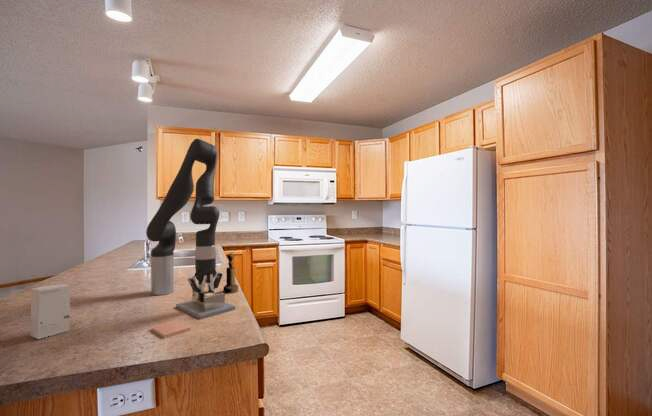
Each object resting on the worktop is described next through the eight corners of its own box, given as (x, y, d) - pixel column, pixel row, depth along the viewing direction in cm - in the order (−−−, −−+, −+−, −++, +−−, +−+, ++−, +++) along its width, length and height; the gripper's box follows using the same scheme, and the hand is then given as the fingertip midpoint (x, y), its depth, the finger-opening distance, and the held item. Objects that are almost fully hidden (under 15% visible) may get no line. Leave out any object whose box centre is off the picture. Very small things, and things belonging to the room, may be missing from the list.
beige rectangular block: (186, 302, 125) (186, 289, 125) (205, 297, 131) (205, 285, 131) (205, 311, 115) (205, 298, 115) (224, 306, 121) (224, 293, 121)
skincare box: (37, 340, 93) (37, 290, 93) (29, 336, 96) (29, 288, 96) (71, 330, 100) (71, 284, 100) (62, 327, 103) (62, 282, 103)
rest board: (176, 307, 123) (176, 304, 123) (209, 299, 134) (209, 296, 134) (200, 319, 110) (200, 315, 110) (235, 309, 121) (235, 306, 121)
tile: (151, 326, 101) (164, 335, 94) (176, 320, 107) (190, 327, 100) (151, 331, 101) (164, 339, 94) (176, 324, 107) (190, 331, 100)
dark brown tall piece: (232, 288, 151) (232, 251, 151) (240, 291, 147) (240, 252, 147) (220, 291, 146) (220, 253, 146) (228, 294, 142) (228, 254, 142)
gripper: (216, 253, 130) (217, 295, 130) (183, 258, 119) (183, 303, 120) (226, 255, 125) (227, 298, 125) (192, 260, 114) (193, 307, 115)
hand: (206, 300), depth 122 cm, fingers closed on beige rectangular block, 3 cm apart
